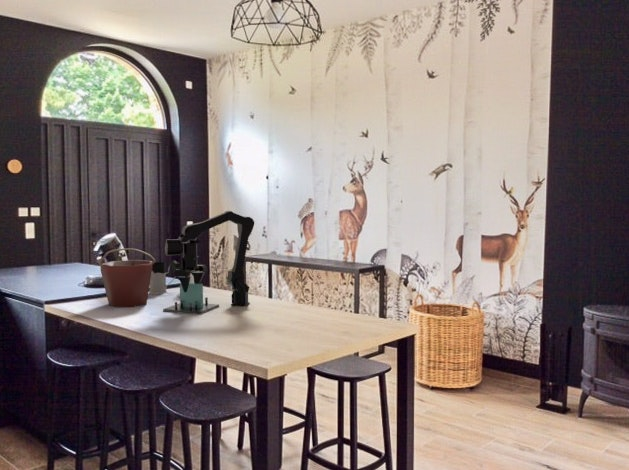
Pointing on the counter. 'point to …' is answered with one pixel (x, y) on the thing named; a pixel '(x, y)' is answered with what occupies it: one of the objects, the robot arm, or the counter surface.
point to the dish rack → (191, 309)
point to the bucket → (126, 280)
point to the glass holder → (158, 278)
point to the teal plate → (192, 295)
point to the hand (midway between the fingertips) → (190, 290)
